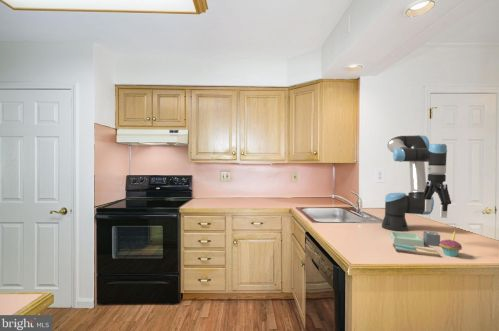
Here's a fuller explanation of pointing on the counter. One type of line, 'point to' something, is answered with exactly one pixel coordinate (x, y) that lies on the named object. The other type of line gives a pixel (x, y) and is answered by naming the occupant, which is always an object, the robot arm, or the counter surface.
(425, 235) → the die
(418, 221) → the counter surface
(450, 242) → the cupcake
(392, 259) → the counter surface
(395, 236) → the tray
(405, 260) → the counter surface
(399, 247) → the board
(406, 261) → the counter surface
